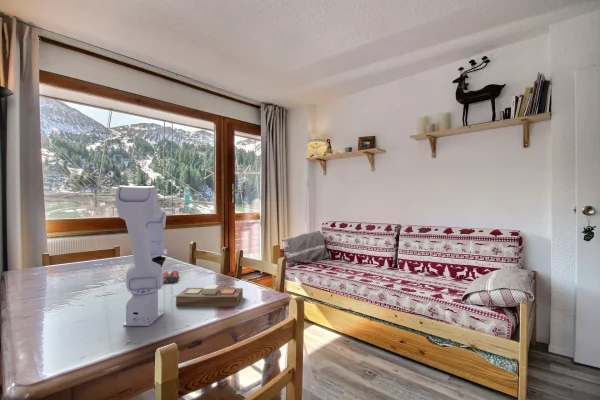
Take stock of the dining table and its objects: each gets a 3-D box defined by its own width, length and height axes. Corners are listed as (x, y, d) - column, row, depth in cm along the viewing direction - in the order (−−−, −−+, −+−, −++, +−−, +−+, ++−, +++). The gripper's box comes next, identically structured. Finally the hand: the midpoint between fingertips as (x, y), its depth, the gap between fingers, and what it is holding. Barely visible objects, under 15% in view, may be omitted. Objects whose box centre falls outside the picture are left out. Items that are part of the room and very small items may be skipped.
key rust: (232, 299, 105) (232, 293, 105) (220, 299, 105) (220, 293, 105) (235, 295, 110) (235, 289, 110) (223, 295, 110) (223, 289, 110)
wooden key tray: (236, 306, 103) (236, 296, 103) (176, 306, 103) (176, 296, 103) (242, 297, 113) (242, 288, 113) (187, 296, 113) (187, 287, 113)
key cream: (214, 294, 105) (214, 288, 105) (203, 294, 105) (203, 288, 105) (218, 290, 110) (218, 285, 110) (207, 290, 110) (207, 285, 110)
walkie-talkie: (160, 277, 141) (153, 289, 122) (160, 268, 141) (153, 279, 122) (179, 276, 144) (175, 288, 125) (179, 267, 144) (175, 277, 125)
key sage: (197, 298, 106) (197, 293, 105) (185, 298, 106) (185, 292, 106) (201, 294, 110) (201, 289, 110) (190, 294, 110) (190, 289, 110)
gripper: (156, 244, 98) (156, 283, 98) (175, 238, 113) (175, 272, 113) (136, 244, 98) (136, 283, 99) (157, 238, 113) (157, 272, 113)
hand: (155, 277), depth 106 cm, fingers closed
